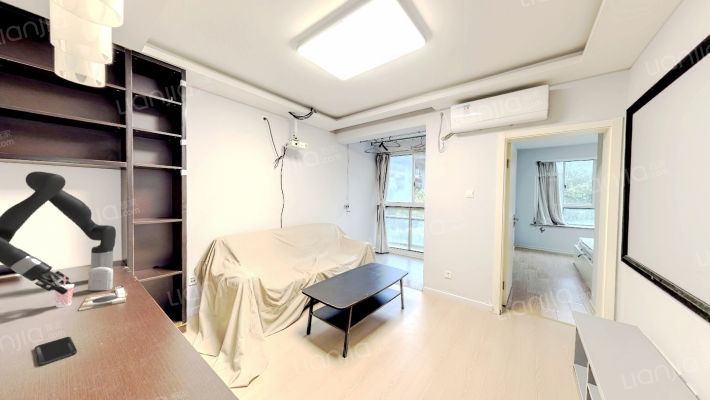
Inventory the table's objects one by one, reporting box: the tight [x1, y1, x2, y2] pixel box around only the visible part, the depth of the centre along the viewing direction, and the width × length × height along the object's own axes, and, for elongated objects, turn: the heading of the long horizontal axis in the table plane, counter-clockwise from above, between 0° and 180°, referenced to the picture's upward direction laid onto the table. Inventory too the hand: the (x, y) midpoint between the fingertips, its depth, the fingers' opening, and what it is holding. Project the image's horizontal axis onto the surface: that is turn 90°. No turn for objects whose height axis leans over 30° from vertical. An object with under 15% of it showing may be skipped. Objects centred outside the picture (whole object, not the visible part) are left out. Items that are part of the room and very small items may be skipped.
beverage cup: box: [54, 274, 75, 308], centre depth 113 cm, size 6×6×14 cm
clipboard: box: [78, 290, 129, 312], centre depth 119 cm, size 18×15×1 cm
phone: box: [34, 336, 78, 367], centre depth 80 cm, size 8×1×15 cm
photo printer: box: [87, 267, 114, 291], centre depth 132 cm, size 10×4×12 cm, turn 98°
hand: (69, 290), depth 113 cm, fingers closed on beverage cup, 6 cm apart
